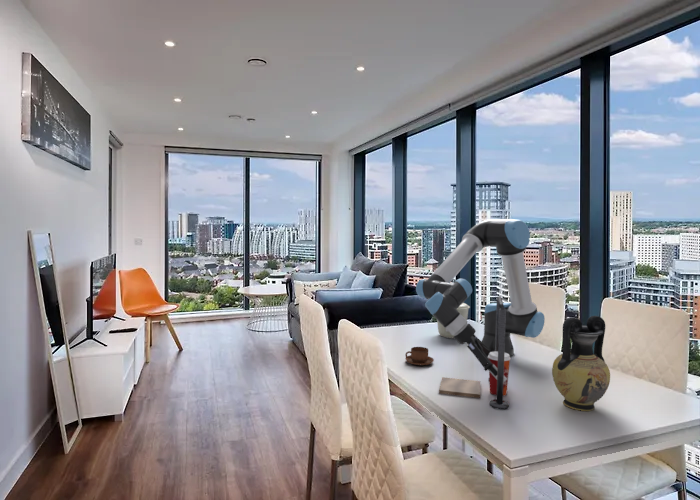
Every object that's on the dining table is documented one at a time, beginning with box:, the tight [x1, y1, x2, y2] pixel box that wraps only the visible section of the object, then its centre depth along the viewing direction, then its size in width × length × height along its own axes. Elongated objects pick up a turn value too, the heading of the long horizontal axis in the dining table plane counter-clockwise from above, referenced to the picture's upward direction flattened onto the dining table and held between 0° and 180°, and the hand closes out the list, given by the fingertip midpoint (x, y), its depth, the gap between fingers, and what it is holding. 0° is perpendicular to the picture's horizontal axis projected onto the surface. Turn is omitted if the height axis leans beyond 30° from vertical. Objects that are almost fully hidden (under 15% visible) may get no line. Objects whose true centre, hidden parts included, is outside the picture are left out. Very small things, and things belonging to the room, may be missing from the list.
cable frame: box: [489, 296, 510, 411], centre depth 159 cm, size 30×6×33 cm, turn 164°
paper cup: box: [488, 351, 512, 397], centre depth 160 cm, size 8×8×14 cm
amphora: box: [551, 315, 611, 412], centre depth 149 cm, size 18×17×30 cm
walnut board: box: [438, 376, 481, 399], centre depth 164 cm, size 14×14×1 cm
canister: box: [436, 302, 471, 339], centre depth 240 cm, size 18×18×21 cm
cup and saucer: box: [405, 346, 435, 366], centre depth 194 cm, size 12×12×6 cm
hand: (503, 375), depth 159 cm, fingers open, 13 cm apart
